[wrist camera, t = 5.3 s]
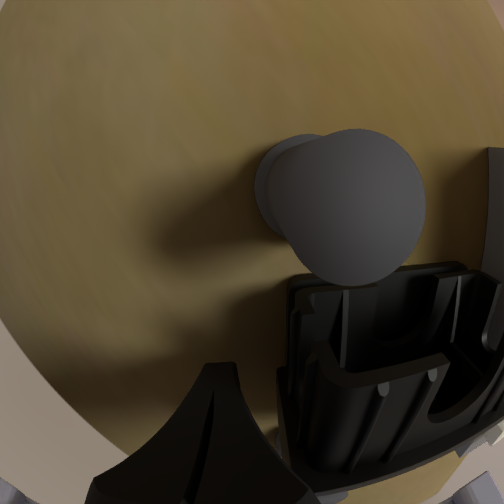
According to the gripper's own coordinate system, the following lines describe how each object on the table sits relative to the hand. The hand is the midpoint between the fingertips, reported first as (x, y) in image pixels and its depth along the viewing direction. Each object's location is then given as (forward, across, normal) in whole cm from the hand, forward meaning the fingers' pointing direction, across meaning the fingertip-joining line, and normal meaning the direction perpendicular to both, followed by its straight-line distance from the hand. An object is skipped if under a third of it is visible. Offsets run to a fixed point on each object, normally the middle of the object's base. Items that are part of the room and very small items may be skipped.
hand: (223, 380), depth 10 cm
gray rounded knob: (+1, -4, -7) cm, 8 cm away
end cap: (+2, -7, 0) cm, 7 cm away
